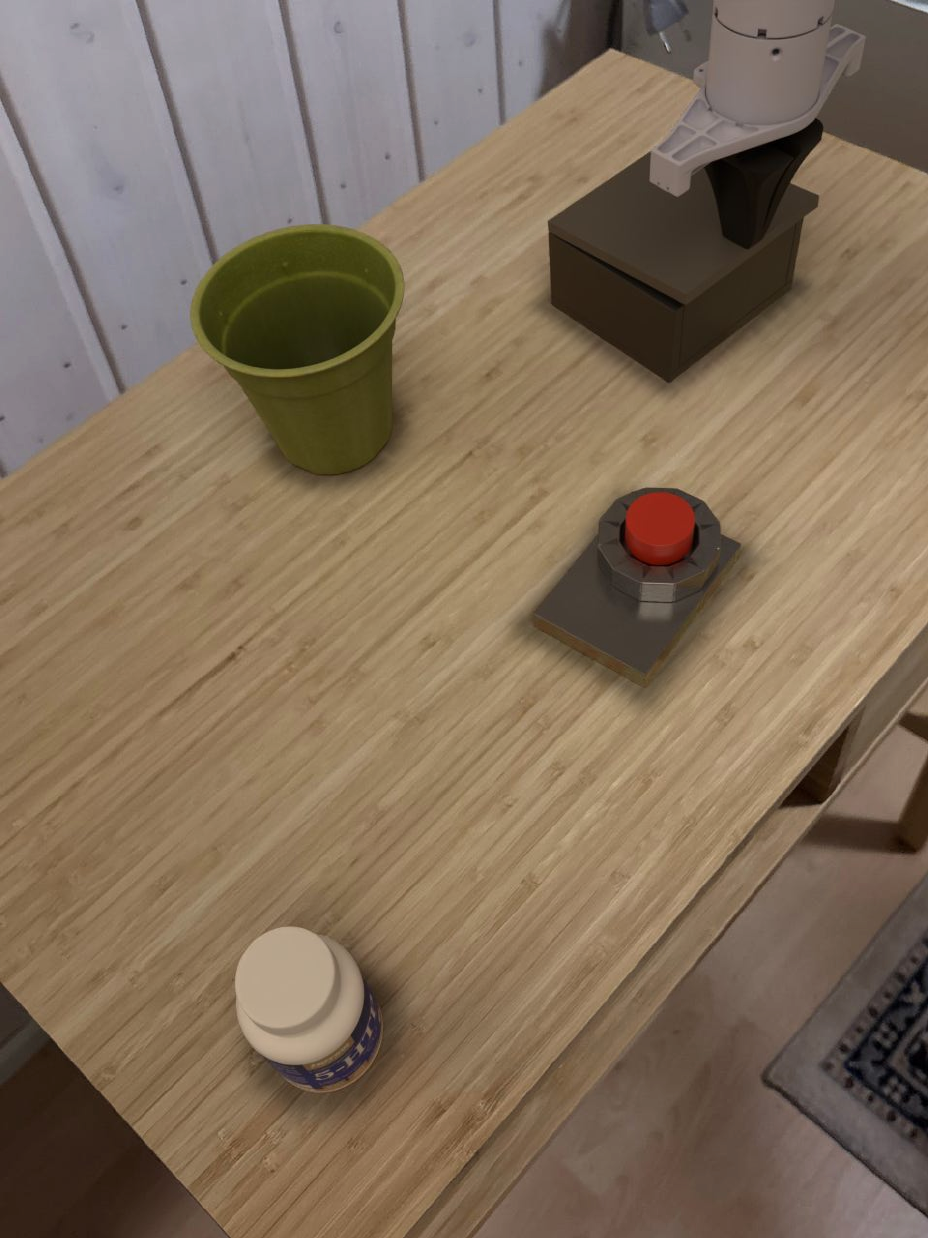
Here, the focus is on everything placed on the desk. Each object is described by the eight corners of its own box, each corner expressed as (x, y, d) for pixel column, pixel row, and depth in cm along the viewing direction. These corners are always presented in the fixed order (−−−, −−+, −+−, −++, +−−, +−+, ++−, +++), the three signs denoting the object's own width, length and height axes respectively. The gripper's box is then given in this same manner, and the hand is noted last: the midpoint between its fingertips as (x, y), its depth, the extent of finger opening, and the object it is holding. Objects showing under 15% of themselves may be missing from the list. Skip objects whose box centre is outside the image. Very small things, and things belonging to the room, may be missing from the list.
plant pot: (207, 430, 73) (150, 292, 64) (359, 340, 76) (326, 195, 67) (308, 541, 67) (261, 408, 58) (467, 439, 70) (448, 296, 61)
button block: (633, 501, 67) (635, 468, 64) (741, 554, 64) (747, 521, 61) (533, 626, 63) (531, 595, 60) (644, 688, 60) (646, 658, 57)
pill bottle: (341, 1118, 50) (297, 1075, 42) (246, 1055, 52) (189, 1003, 44) (407, 1009, 52) (376, 950, 45) (314, 952, 54) (269, 886, 46)
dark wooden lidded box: (791, 288, 75) (805, 214, 70) (669, 383, 71) (674, 311, 67) (671, 218, 80) (675, 144, 75) (550, 303, 76) (548, 232, 71)
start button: (647, 502, 63) (648, 481, 62) (705, 530, 62) (707, 509, 60) (612, 546, 62) (612, 526, 60) (670, 576, 60) (672, 556, 59)
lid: (818, 206, 69) (819, 195, 68) (686, 305, 65) (686, 294, 65) (676, 144, 75) (676, 132, 74) (548, 231, 71) (547, 220, 71)
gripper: (804, -81, 60) (771, 150, 71) (608, 42, 55) (605, 267, 67) (919, -36, 56) (864, 198, 68) (719, 99, 52) (697, 325, 63)
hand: (742, 236), depth 67 cm, fingers closed, pressing on lid
